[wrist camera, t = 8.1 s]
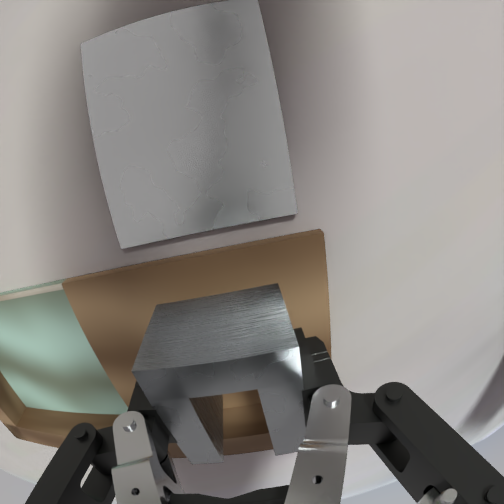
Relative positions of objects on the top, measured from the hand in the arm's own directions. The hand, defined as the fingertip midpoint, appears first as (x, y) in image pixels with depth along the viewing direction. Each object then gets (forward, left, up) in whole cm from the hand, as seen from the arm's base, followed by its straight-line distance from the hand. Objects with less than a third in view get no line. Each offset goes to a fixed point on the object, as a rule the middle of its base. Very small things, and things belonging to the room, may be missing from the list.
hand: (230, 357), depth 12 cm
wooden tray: (+2, -8, -3) cm, 9 cm away
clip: (0, 0, 0) cm, 0 cm away
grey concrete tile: (-10, 0, -3) cm, 10 cm away
